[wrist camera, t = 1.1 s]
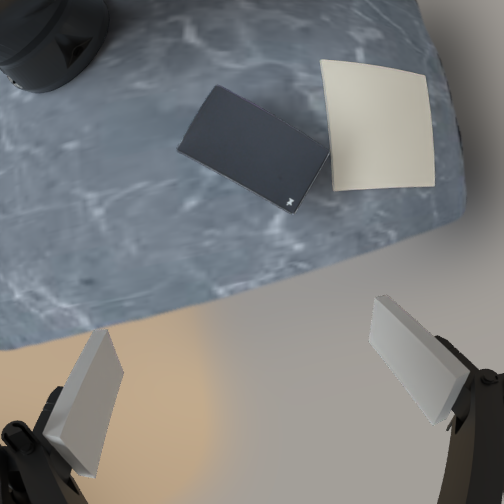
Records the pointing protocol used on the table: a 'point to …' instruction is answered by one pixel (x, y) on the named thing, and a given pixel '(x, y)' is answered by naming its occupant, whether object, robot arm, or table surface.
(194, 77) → the table surface
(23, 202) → the table surface
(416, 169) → the mat
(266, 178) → the small box
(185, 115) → the table surface
